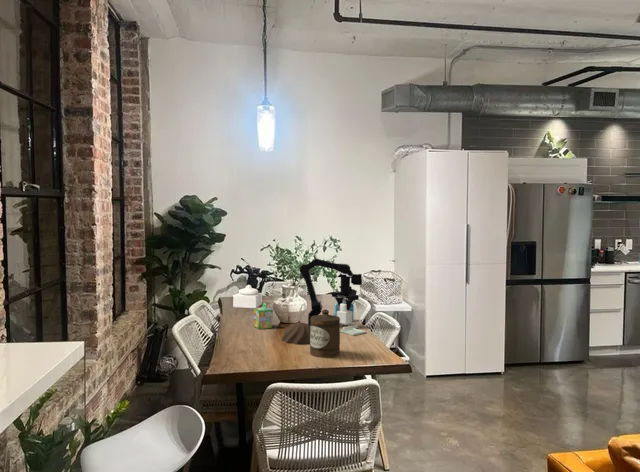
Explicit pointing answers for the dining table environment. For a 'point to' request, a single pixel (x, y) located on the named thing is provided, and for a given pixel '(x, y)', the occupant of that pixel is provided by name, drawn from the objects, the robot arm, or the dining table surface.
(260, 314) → the chalk box
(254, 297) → the butter dish
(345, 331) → the tray
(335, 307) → the data package
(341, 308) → the medicine bottle
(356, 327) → the bay
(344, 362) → the dining table surface
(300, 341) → the decorative dome
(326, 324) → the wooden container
